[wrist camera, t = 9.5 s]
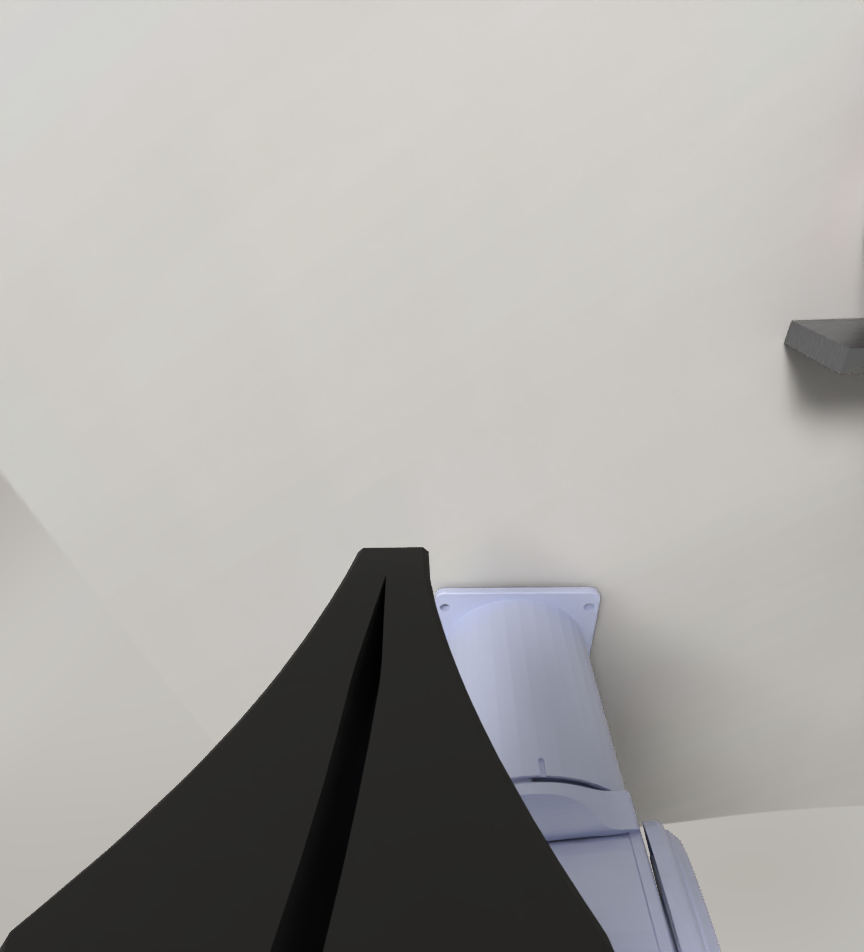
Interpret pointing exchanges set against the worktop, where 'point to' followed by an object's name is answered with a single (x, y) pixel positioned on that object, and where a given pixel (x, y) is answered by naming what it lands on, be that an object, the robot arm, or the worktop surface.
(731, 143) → the worktop surface
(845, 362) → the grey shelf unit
